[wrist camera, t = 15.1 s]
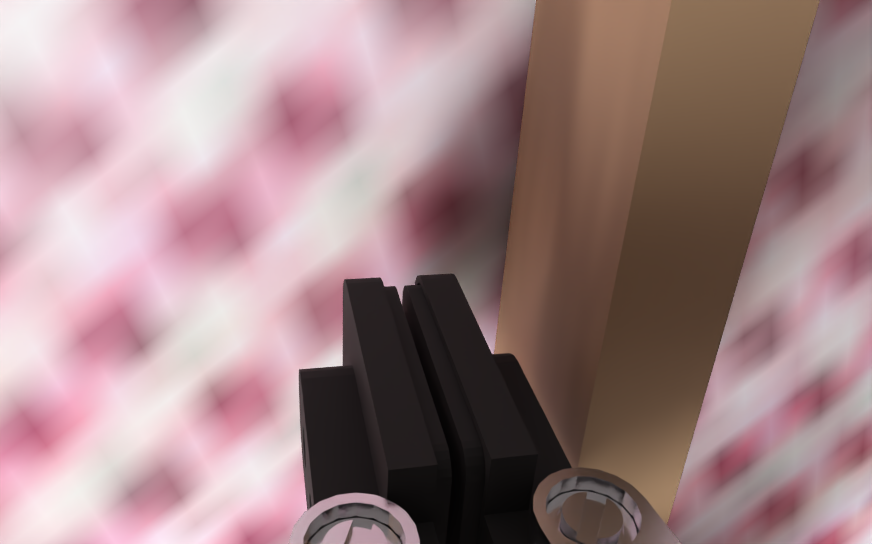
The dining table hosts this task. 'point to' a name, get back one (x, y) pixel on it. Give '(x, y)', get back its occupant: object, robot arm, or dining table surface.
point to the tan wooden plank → (639, 214)
